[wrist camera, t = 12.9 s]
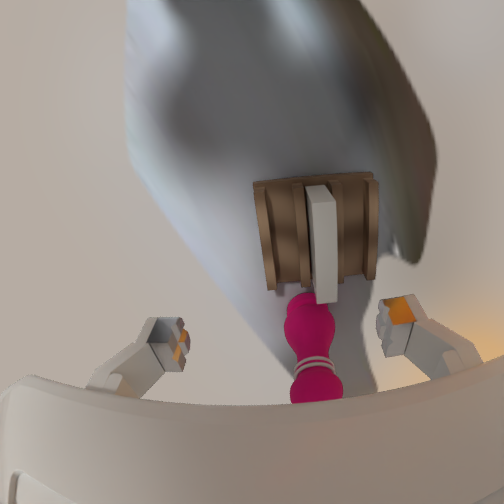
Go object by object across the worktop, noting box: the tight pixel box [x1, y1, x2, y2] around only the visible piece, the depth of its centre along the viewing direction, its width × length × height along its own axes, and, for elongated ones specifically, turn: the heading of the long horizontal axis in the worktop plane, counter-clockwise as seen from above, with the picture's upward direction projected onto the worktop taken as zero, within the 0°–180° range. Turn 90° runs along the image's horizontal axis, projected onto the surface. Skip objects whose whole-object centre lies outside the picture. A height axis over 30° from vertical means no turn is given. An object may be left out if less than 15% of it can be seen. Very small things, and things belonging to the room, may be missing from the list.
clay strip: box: [305, 185, 338, 304], centre depth 32 cm, size 12×2×7 cm, turn 8°
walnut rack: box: [253, 172, 379, 290], centre depth 35 cm, size 14×15×4 cm
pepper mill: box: [284, 293, 343, 404], centre depth 33 cm, size 7×7×20 cm
